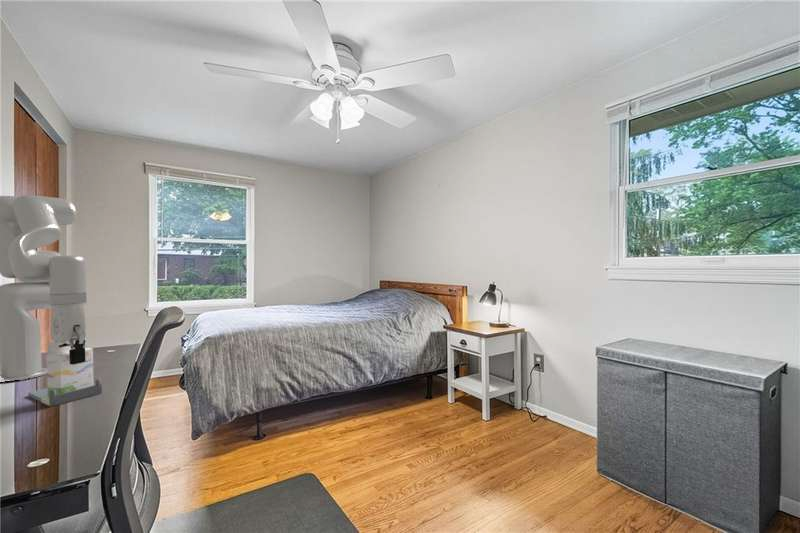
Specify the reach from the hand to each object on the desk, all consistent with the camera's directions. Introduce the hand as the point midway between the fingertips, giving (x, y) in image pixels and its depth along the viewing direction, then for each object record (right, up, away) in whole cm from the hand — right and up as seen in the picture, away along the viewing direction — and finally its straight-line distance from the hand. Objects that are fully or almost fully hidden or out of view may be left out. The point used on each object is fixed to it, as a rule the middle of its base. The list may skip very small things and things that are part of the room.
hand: (70, 361), depth 100 cm
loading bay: (-3, -10, +2) cm, 11 cm away
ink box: (0, -9, 0) cm, 9 cm away
